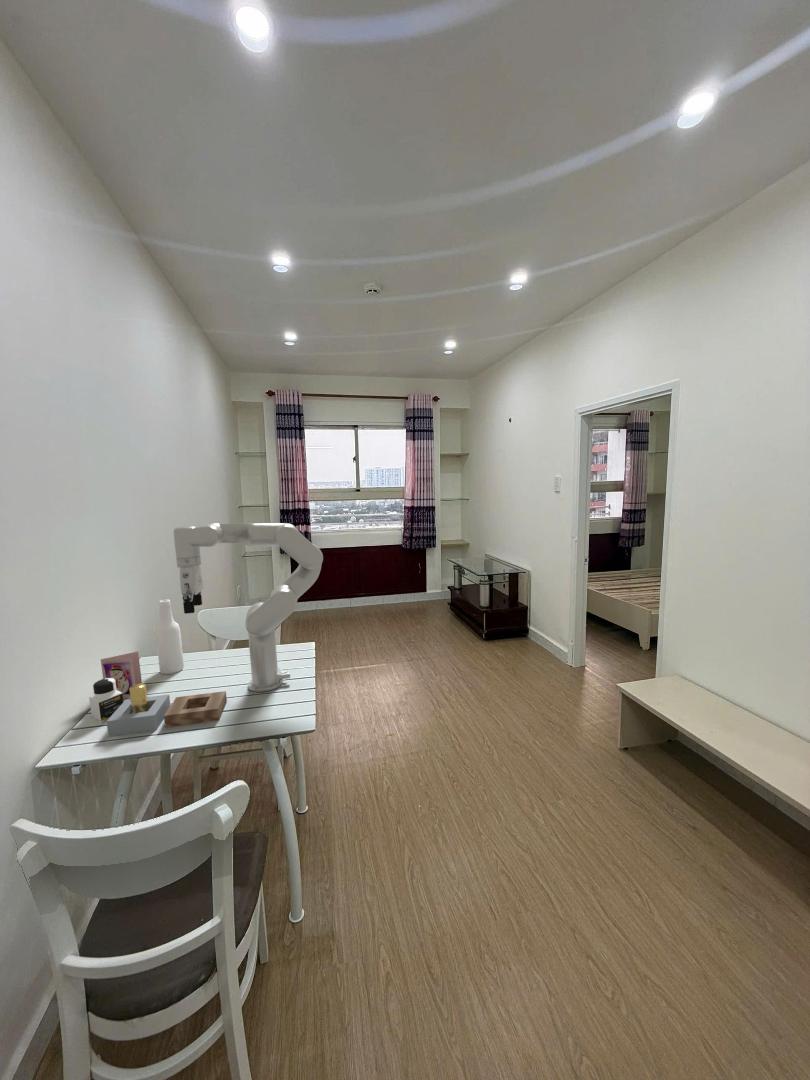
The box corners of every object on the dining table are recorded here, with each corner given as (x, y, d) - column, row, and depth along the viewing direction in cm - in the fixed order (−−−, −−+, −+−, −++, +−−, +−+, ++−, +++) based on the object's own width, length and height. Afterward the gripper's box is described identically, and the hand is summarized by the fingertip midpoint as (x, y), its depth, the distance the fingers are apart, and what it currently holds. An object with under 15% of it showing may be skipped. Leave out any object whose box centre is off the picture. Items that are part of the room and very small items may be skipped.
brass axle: (151, 711, 138) (147, 682, 137) (145, 718, 134) (142, 688, 133) (136, 713, 137) (132, 684, 136) (130, 720, 133) (126, 690, 132)
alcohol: (173, 675, 169) (165, 603, 165) (154, 674, 171) (146, 603, 167) (188, 666, 177) (181, 597, 173) (171, 665, 179) (163, 597, 175)
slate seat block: (170, 708, 144) (169, 694, 143) (156, 730, 131) (154, 715, 130) (127, 713, 141) (125, 699, 140) (108, 736, 128) (106, 721, 127)
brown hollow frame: (226, 701, 147) (225, 691, 146) (219, 720, 135) (218, 708, 134) (177, 708, 143) (176, 697, 143) (165, 727, 132) (163, 715, 131)
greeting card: (104, 699, 151) (98, 660, 149) (118, 689, 158) (113, 652, 156) (135, 698, 151) (130, 659, 149) (148, 688, 158) (143, 651, 156)
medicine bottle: (101, 722, 136) (96, 687, 134) (91, 716, 140) (86, 682, 138) (125, 712, 142) (120, 678, 140) (115, 706, 146) (110, 674, 144)
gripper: (193, 565, 138) (198, 615, 140) (206, 556, 155) (210, 601, 157) (168, 567, 137) (174, 617, 139) (184, 558, 153) (189, 603, 156)
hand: (193, 609), depth 148 cm, fingers open, 9 cm apart
